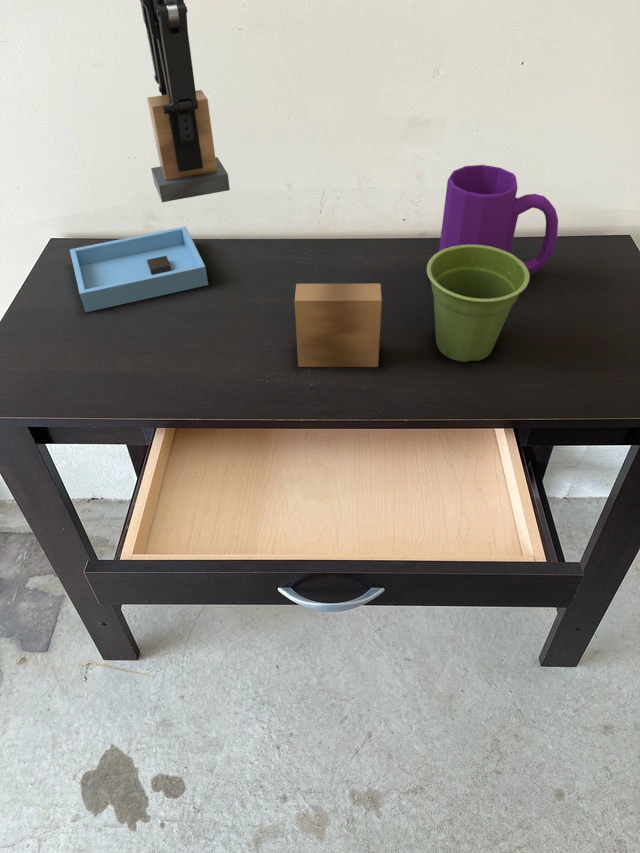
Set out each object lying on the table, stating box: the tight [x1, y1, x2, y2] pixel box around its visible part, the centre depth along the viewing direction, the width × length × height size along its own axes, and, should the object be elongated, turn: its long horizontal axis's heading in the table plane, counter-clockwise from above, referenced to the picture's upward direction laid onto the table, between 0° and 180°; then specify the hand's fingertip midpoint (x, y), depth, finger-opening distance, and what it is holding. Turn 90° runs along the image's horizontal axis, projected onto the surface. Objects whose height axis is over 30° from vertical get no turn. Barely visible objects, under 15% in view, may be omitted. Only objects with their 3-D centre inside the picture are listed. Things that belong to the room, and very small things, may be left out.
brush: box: [147, 89, 231, 203], centre depth 74 cm, size 8×5×10 cm, turn 110°
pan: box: [69, 225, 209, 313], centre depth 97 cm, size 18×13×3 cm
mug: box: [438, 164, 559, 275], centre depth 90 cm, size 9×16×15 cm, turn 82°
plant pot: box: [426, 245, 531, 363], centre depth 81 cm, size 12×12×11 cm
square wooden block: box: [294, 282, 383, 368], centre depth 80 cm, size 10×4×10 cm, turn 89°
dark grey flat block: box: [147, 256, 172, 275], centre depth 98 cm, size 3×3×1 cm
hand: (187, 161), depth 76 cm, fingers closed on brush, 3 cm apart
